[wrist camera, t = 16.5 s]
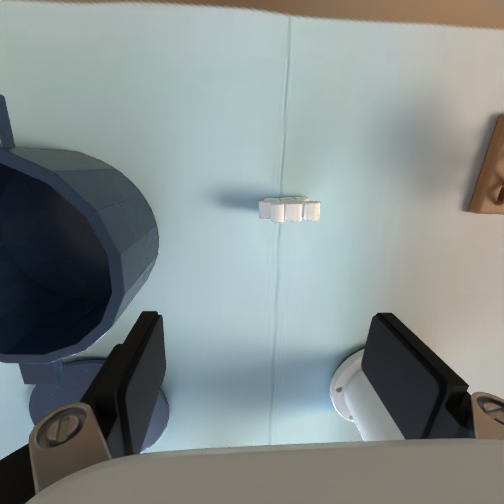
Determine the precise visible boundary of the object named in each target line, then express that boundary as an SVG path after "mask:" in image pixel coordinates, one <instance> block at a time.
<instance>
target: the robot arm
mask: <svg viewBox="0 0 504 504" xmlns="http://www.w3.org/2000/svg"><path fill="white" fill-rule="evenodd" d="M165 371H166V358H165V345H164V331H163V318H162V315H158V312H157V311H143V312H142V313H141V314H140V316H139V318H138V319H137V321H136V323H135V324H134V326H133V328H132V329H131V331H130V333H129V334H128V336H127V338H126V339H125V341H124V343H123V344H117V345H116V346H115V347H114V348H113V350H112V351H111V353H110V354H109V356H108V358H107V359H106V361H105V362H104V364H103V365H102V367H101V369H100V370H99V372H98V373H97V375H96V376H95V378H94V380H93V381H92V383H91V384H90V386H89V388H88V389H87V391H86V392H85V394H84V395H83V397H82V399H81V400H80V402H73V403H68V404H65V405H63V406H60V407H58V408H56V409H54V410H53V411H51V412H49V413H48V414H47V415H46V416H44V417H43V418H42V419H41V420H40V421H39V422H38V423H37V424H36V426H35V427H34V428H33V430H32V432H31V434H30V436H29V443H28V444H27V445H25V446H23V447H22V448H20V449H18V450H17V451H15V452H13V453H12V454H10V455H8V456H6V457H5V458H3V459H1V460H0V504H504V400H503V399H501V398H499V397H497V396H495V395H492V394H489V393H484V392H475V393H473V394H472V395H470V394H469V393H468V392H467V389H468V387H469V385H468V384H467V383H466V382H465V381H464V380H463V379H462V378H460V377H459V376H458V375H457V374H456V373H455V372H454V371H453V370H452V369H451V368H450V367H449V366H448V365H447V364H446V363H445V362H444V361H442V360H441V359H440V358H439V357H438V356H437V355H436V354H435V353H434V352H433V351H432V350H431V349H430V348H429V347H428V346H427V345H425V344H424V343H423V342H422V341H421V340H420V339H419V338H418V337H417V336H416V335H415V334H414V333H413V332H412V331H411V330H410V329H409V328H407V327H406V326H405V325H404V324H403V323H402V322H401V321H400V320H399V319H398V318H397V317H396V316H395V315H394V314H392V313H377V314H376V316H374V317H373V318H372V321H371V325H370V329H369V333H368V337H367V341H366V345H365V349H362V350H360V351H358V352H356V353H355V354H353V355H352V356H350V357H349V358H347V359H346V360H345V361H344V362H343V363H342V364H341V365H340V366H339V368H338V369H337V370H336V372H335V374H334V375H333V377H332V380H331V383H330V397H331V400H332V403H333V405H334V408H335V409H336V411H337V412H338V413H339V414H340V415H341V416H342V417H343V418H345V419H347V420H348V421H351V422H354V423H355V424H356V426H357V428H358V430H359V432H360V434H361V436H362V438H363V441H357V442H332V443H309V444H286V445H265V446H244V447H224V448H205V449H190V450H175V451H160V452H152V453H143V454H140V452H141V449H142V445H143V442H144V439H145V436H146V433H147V430H148V426H149V423H150V420H151V417H152V414H153V410H154V407H155V404H156V401H157V398H158V395H159V391H160V388H161V385H162V382H163V379H164V376H165Z"/></svg>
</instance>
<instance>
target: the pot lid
mask: <svg viewBox="0 0 504 504" xmlns="http://www.w3.org/2000/svg"><path fill="white" fill-rule="evenodd" d="M104 362H105V361H104V360H84V361H77V362H73V363H69V364H66V365H63V369H64V373H65V375H64V376H63V377H62V378H61V380H60V381H59V382H58V384H37V385H36V387H35V388H34V390H33V392H32V394H31V397H30V402H29V411H30V416H31V418H32V421H33V423H34V425H35V426H36V424H37V423H38V422H39V421H40V420H41V419H42V418H43V417H44V416H46V415H47V414H48V413H49V412H51V411H53V410H54V409H56V408H58V407H60V406H63V405H65V404H68V403H73V402H80V400H81V399H82V397H83V395H84V394H85V392H86V391H87V389H88V388H89V386H90V384H91V383H92V381H93V380H94V378H95V376H96V375H97V373H98V372H99V370H100V369H101V367H102V365H103V364H104ZM168 419H169V406H168V402H167V399H166V397H165V395H164V393H163V392H162V390H161V389H160V391H159V395H158V398H157V401H156V404H155V407H154V410H153V414H152V417H151V420H150V423H149V426H148V430H147V433H146V436H145V439H144V442H143V445H142V449H141V452H142V451H144V450H146V449H147V448H149V447H151V446H152V445H153V444H154V443H156V442H157V441H158V439H159V438H160V437H161V436H162V434H163V433H164V431H165V429H166V427H167V423H168Z"/></svg>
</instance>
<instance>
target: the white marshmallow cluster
mask: <svg viewBox="0 0 504 504" xmlns="http://www.w3.org/2000/svg"><path fill="white" fill-rule="evenodd" d="M308 200H309V197H294V198H293V197H282V198H279V199H278V198H265V199H264V200H262V201H259V218H260V219H270V220H271V221H272V222H275V223H282V222H284V220H285V221H289V222H300V221H301V220H302V217H304V220H306V221H316V220H319V216H320V203H321V202H318V201H308Z"/></svg>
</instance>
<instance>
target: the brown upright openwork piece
mask: <svg viewBox="0 0 504 504" xmlns="http://www.w3.org/2000/svg"><path fill="white" fill-rule="evenodd" d="M469 212H472V213H477V214H504V115H501V116H500V117H499V118H498V121H497V124H496V127H495V130H494V133H493V136H492V139H491V142H490V145H489V148H488V151H487V154H486V157H485V160H484V163H483V167H482V170H481V173H480V176H479V179H478V182H477V185H476V188H475V191H474V194H473V197H472V200H471V203H470V206H469Z"/></svg>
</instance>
